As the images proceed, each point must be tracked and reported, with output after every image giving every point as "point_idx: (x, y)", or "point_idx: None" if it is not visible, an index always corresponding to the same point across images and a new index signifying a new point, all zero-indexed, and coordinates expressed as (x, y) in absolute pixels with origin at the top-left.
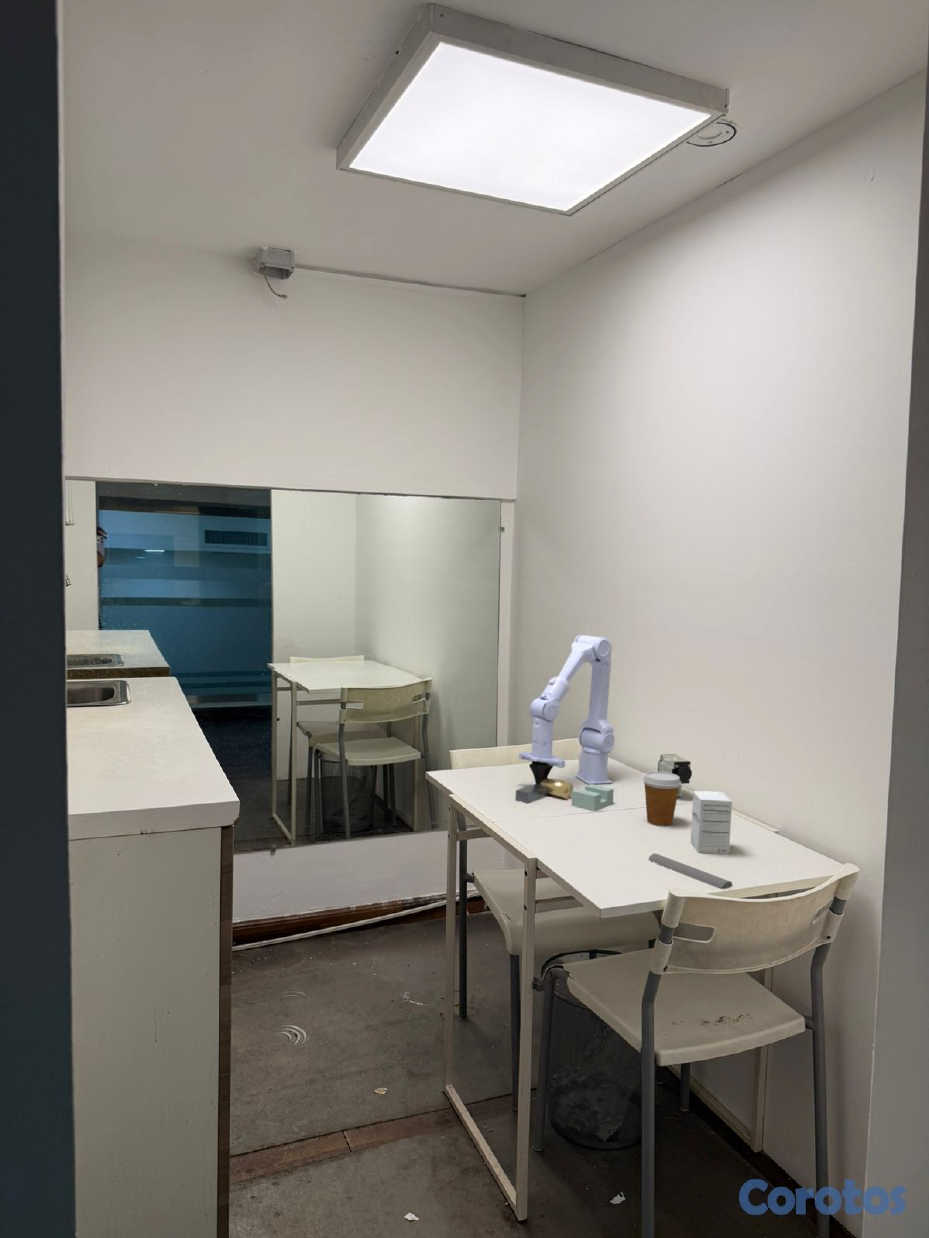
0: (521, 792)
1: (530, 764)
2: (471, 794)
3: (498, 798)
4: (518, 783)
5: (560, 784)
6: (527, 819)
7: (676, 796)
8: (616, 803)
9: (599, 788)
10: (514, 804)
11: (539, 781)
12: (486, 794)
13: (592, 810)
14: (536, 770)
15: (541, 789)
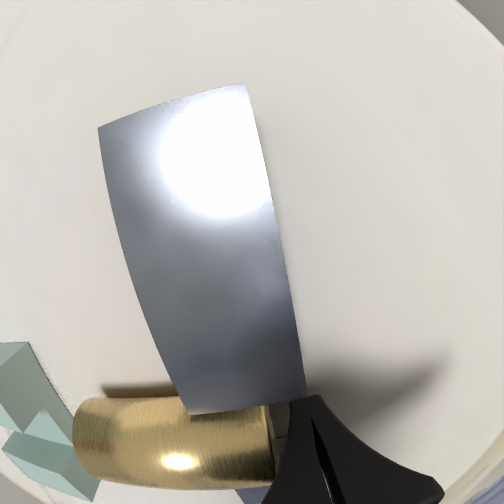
0: (173, 102)
1: (433, 499)
2: (452, 34)
3: (344, 55)
4: (456, 371)
5: (109, 453)
6: (8, 30)
7: None
8: None
9: (29, 467)
10: (171, 50)
11: (297, 434)
12: (436, 76)
13: None
14: (343, 494)
15: (161, 347)
